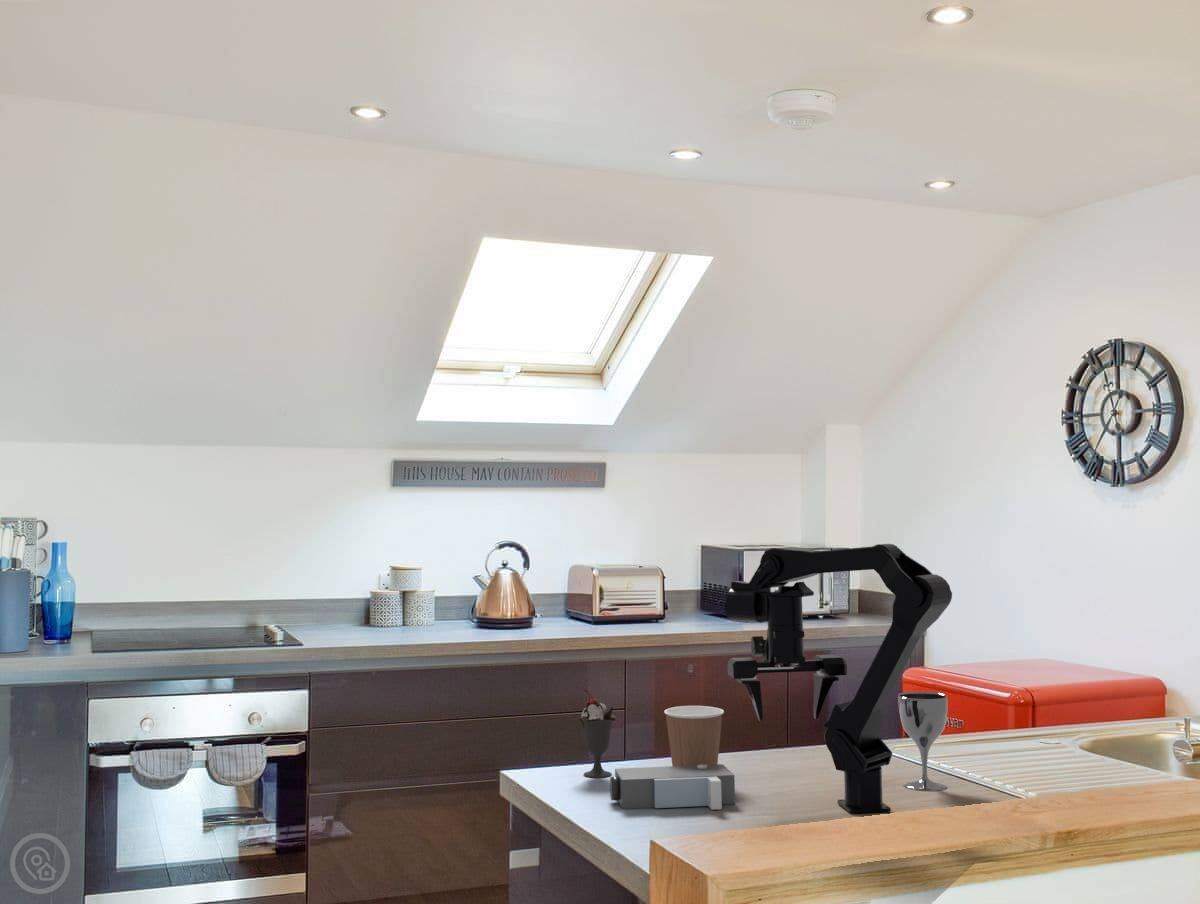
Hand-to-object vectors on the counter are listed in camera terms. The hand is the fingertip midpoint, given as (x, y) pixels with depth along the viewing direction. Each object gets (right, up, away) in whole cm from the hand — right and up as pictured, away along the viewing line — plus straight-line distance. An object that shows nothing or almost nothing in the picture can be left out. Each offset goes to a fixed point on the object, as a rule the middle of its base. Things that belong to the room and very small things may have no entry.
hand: (788, 719), depth 189 cm
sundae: (-31, -14, +15) cm, 37 cm away
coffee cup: (-14, -13, +10) cm, 22 cm away
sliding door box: (-19, -12, -3) cm, 23 cm away
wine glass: (+24, -12, +4) cm, 27 cm away
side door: (-17, -12, -9) cm, 23 cm away
